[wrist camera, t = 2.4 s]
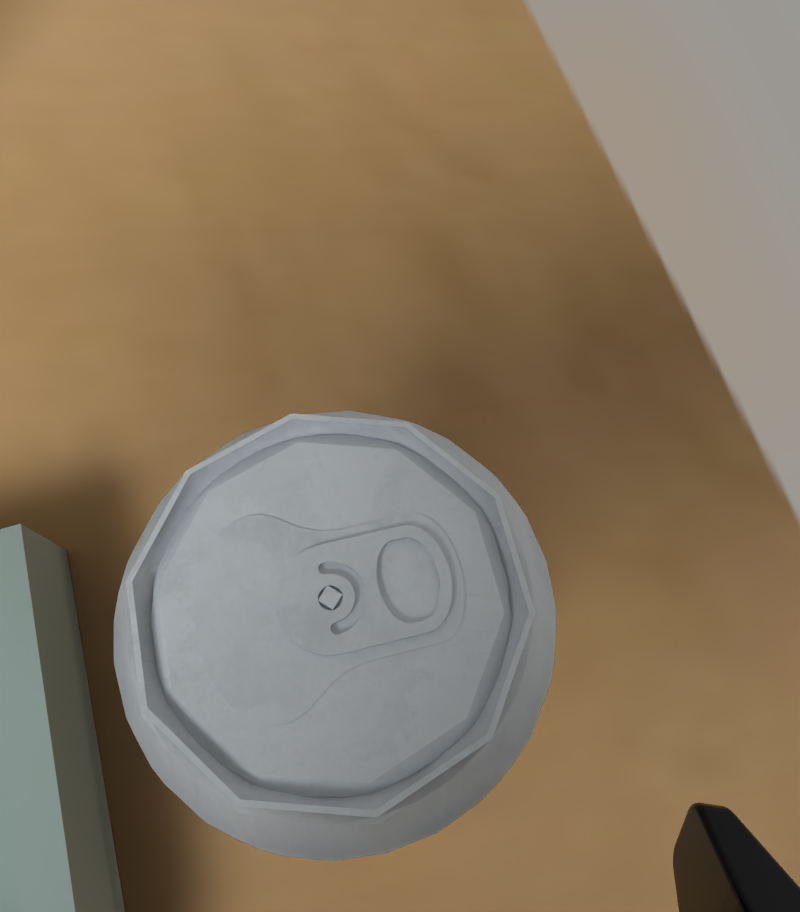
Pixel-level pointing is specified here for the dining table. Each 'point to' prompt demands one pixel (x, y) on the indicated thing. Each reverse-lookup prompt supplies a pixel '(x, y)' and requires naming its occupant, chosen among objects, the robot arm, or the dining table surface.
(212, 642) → the beer can
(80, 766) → the dish
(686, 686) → the dining table surface
